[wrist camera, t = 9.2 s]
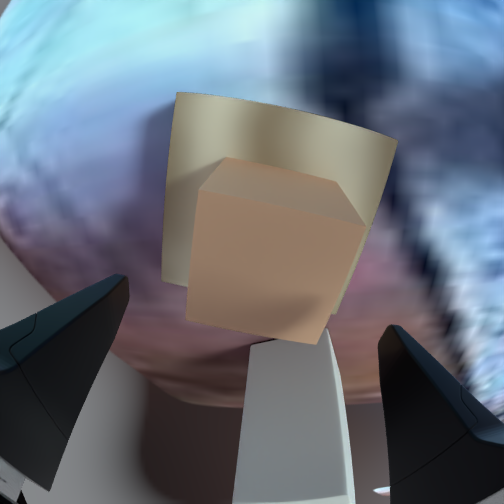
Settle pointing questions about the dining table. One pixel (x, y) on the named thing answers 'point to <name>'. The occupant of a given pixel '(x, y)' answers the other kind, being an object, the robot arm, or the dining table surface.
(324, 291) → the tan cube
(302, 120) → the birch block
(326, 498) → the milk carton
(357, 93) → the dining table surface
